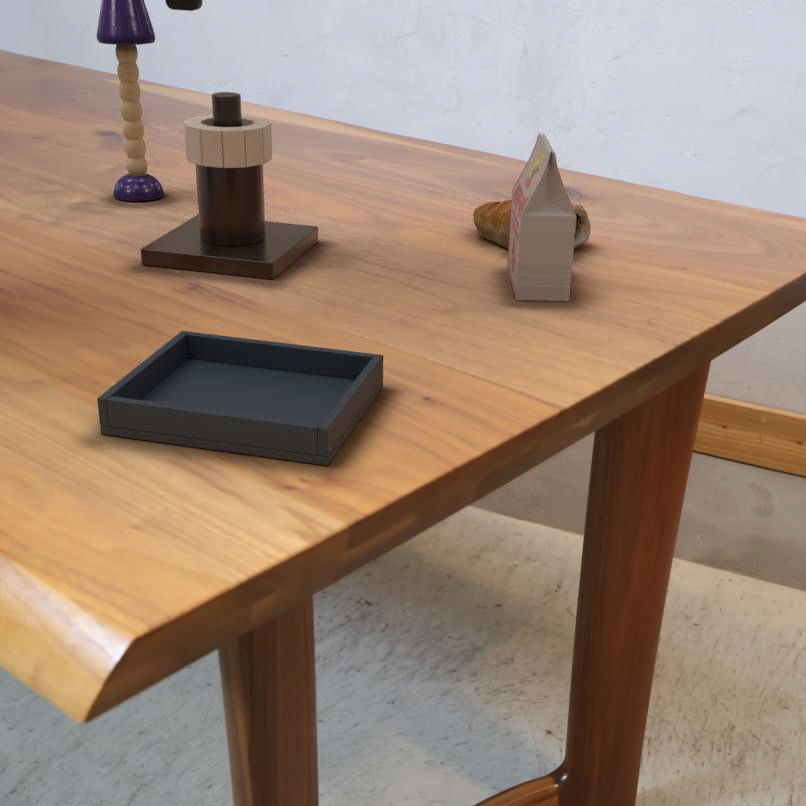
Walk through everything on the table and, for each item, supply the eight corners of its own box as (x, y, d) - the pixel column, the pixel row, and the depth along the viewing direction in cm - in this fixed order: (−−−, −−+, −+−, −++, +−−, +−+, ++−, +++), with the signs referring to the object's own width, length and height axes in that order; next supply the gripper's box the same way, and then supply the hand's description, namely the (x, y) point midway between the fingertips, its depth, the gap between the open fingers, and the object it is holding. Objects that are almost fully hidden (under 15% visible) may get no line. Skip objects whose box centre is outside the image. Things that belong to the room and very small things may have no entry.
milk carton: (556, 271, 85) (568, 133, 81) (568, 301, 79) (581, 154, 75) (507, 269, 85) (515, 132, 80) (515, 299, 79) (525, 152, 74)
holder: (141, 264, 83) (127, 100, 78) (198, 228, 91) (189, 78, 86) (273, 279, 81) (268, 112, 76) (318, 241, 90) (316, 88, 85)
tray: (100, 434, 58) (96, 398, 57) (183, 362, 67) (181, 330, 66) (327, 466, 56) (327, 429, 55) (383, 387, 65) (383, 354, 64)
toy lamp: (101, 192, 100) (81, -13, 93) (149, 185, 103) (134, -15, 96) (128, 204, 97) (110, -8, 90) (177, 197, 100) (163, -9, 93)
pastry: (453, 238, 92) (455, 190, 90) (502, 222, 97) (505, 177, 95) (551, 263, 87) (555, 213, 85) (598, 245, 92) (602, 198, 90)
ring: (172, 163, 81) (170, 126, 80) (207, 146, 86) (205, 111, 85) (253, 171, 80) (251, 133, 79) (282, 153, 85) (282, 117, 84)
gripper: (187, -269, 77) (201, -8, 84) (81, -300, 64) (108, 10, 71) (295, -267, 75) (299, -2, 82) (207, -298, 63) (222, 18, 70)
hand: (211, 3), depth 77 cm, fingers open, 8 cm apart
